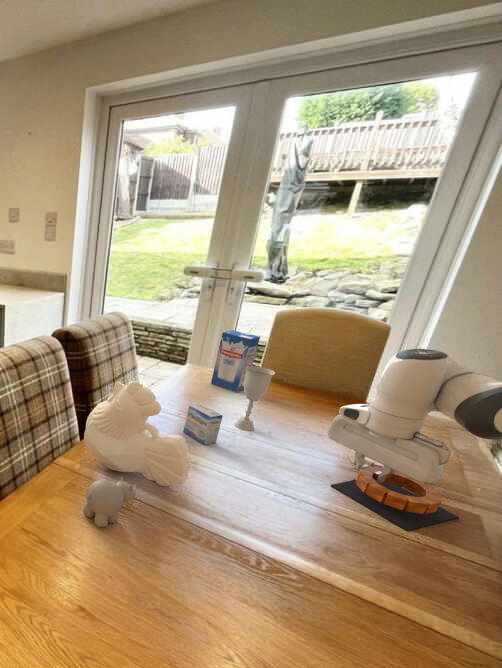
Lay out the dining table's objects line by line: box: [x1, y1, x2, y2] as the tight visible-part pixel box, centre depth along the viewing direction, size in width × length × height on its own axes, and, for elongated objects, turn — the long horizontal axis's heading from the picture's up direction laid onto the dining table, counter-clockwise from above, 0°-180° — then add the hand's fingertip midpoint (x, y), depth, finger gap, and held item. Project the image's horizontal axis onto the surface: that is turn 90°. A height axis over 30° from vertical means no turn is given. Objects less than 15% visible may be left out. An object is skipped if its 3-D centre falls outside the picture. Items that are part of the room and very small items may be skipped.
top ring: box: [355, 466, 443, 514], centre depth 85 cm, size 13×13×2 cm
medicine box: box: [182, 403, 224, 446], centre depth 110 cm, size 8×4×9 cm, turn 21°
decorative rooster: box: [83, 380, 192, 487], centre depth 90 cm, size 25×16×25 cm
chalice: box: [234, 365, 276, 432], centre depth 115 cm, size 7×7×18 cm
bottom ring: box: [346, 448, 384, 468], centre depth 99 cm, size 13×13×2 cm
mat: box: [330, 479, 460, 533], centre depth 86 cm, size 15×15×1 cm
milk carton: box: [210, 329, 261, 393], centre depth 143 cm, size 10×6×20 cm, turn 30°
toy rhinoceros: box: [82, 476, 137, 528], centre depth 81 cm, size 7×12×8 cm, turn 114°
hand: (368, 475), depth 90 cm, fingers closed on top ring, 2 cm apart
